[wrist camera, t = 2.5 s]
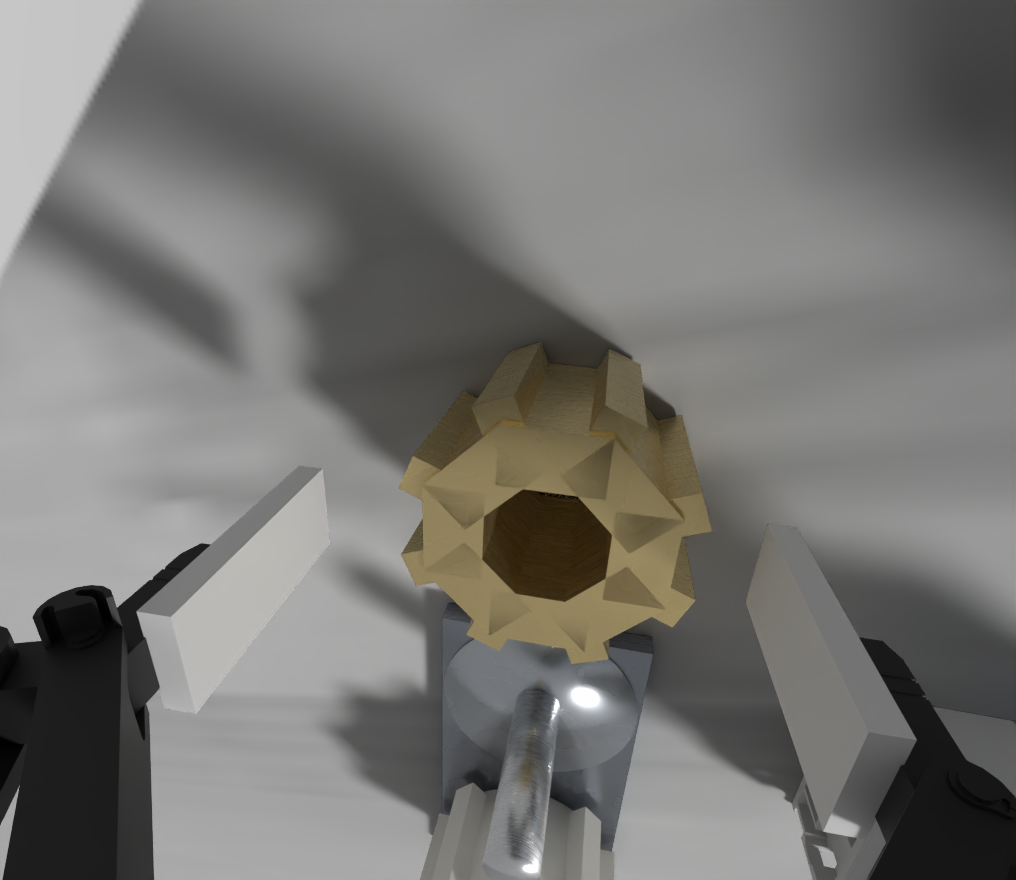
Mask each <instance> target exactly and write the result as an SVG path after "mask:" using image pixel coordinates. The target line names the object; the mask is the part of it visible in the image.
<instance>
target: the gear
mask: <svg viewBox="0 0 1016 880" xmlns="http://www.w3.org/2000/svg"><path fill="white" fill-rule="evenodd" d="M497 791H498V789H494V790H489V791H485V792H483V791H482V790H481V789H480V788H479V787H478V786H476V785H475V784H474V783H471V784H469V785H466V786H464V787H462V788H460V789H458V790H456V794H455V797H454V801H453V805H452V808H451V812H450V816H449V815H445V814H441V813H439V816H438V820H437V823H436V827H435V830H434V833H433V837H432V840H431V844H430V847H429V851H428V854H427V858H426V861H425V864H424V868H423V871H422V875H421V878H420V880H490V879H489V878H488V877H487V876H486V875H485V873H484V871H483V868H482V865H483V860H484V855H485V850H486V845H487V840H488V835H489V830H490V825H491V820H492V815H493V811H494V806H495V801H496V796H497ZM600 841H601V821H600V820H599V819H598V818H597V817H596V816H595V815H594V814H593V813H592V812H591V811H590V810H589V809H588V808H587V807H583V808H580V809H578V810H575V811H573V810H571V809H570V808H568V807H567V806H565V805H564V804H562V803H560V802H558V801H556V800H554V799H552V798H550V797H549V806H548V815H547V823H546V832H545V840H544V849H543V857H542V866H541V875H540V880H614V852H610V851H606V850H601V849H600Z"/></svg>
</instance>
